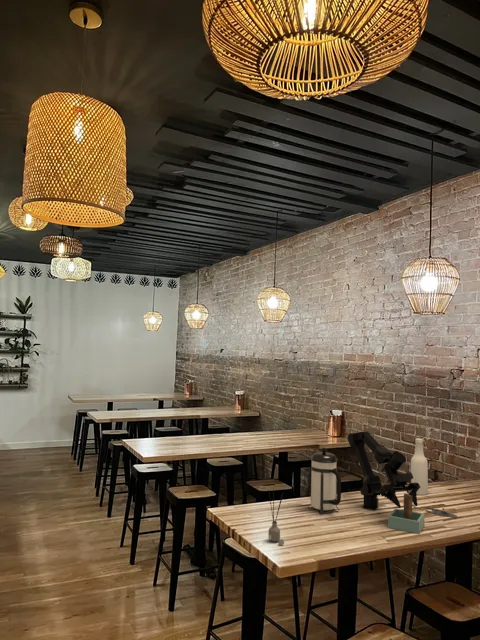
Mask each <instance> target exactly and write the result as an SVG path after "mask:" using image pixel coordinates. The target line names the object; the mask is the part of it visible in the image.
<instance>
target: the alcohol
mask: <svg viewBox="0 0 480 640" xmlns="http://www.w3.org/2000/svg"><path fill="white" fill-rule="evenodd" d="M414 442H415V447H414V454H413V456H412V457H411V459H410V472H411V473H412V475H413V479H411V481H410V483H415V482H417V483H419V485H420V489H419V490H418V491H417V493H416V496H427V494H428V493H429V491H428V490H429V488H428V486H429V484H428V482H429V479H428V476H429V475H428V474H429V473H428V472H429V470H428V466H429V465H428V459H427V458H426V457H425V453H424V444H423V443H424V439H423V438H420V437H419V438H417V437H416V438H415V441H414Z"/></svg>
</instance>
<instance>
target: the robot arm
mask: <svg viewBox="0 0 480 640" xmlns="http://www.w3.org/2000/svg"><path fill="white" fill-rule="evenodd" d="M347 442H348V444H349V446H350V447H351V448H352V449H353V450H354V451H355V454H356V457H357V460H358V463H359V465H360V469H361V472H362V475H363V480H362V483H363V484H362V487H361V488H360V491H359V492H360V495H362V496H363V505H362V508H364V509H369V510H374V511H375V510H377V509H378V508H379V501H380V500H379V498H378V496H381V497H384V498H386V499H388V500H389V501H390V502H392V503H393V504H394V505H395V506H396V507H398V509H400V508H401V507H402V505H401V503H400V501H399V499H398V497H397V494H396V492H404V491H405V492H406V494H409V495H411V496H412V504H413V506H415V507H418V506H419V505H418V504H419V503H418V499H417V496H418V495H416V493H417V491H418V490H419V489H420V485H419V483H417V482H415V483H411V479H413V475H412V473H411V471H408V472H405V473H399V470H400V469H401V468H402V467H403V466H404V464H405V463H406V462H407V458H406V456H405V455H404V454H402V453H401V452H400V451H399V450H394V451H393V452H391V450H389V449H388V448H385V447H383V446H381V444H379V443H378V441H377V440H376V439H375V438H374V437H373V436H372V435H371V432H370V431H359V432H350V433H348V435H347ZM365 445H366V446H367V447H368V448H369V450H371V452H372V453H373V458H374V459H375V461H376V462H377V464H379V465H382V464H383V465H382V467H381V473H385V475H386V477H387V483H389V484H384V485H382V481H381V479H380V476H379V475H376V474H375V473H374V472H373V469H372V468H373V467H372V465H371V463H370V460H369V458H368V454H367V452H366V449H365ZM409 482H410V483H409Z"/></svg>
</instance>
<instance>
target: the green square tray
mask: <svg viewBox="0 0 480 640" xmlns="http://www.w3.org/2000/svg"><path fill="white" fill-rule="evenodd" d="M387 521H388V522H387V523H388V524H387V525H388V526H387V527H388V529H391V530H392V529H393V530H398V531H402V532H408V533H412V534H418V535H419V534H420V533H421V532H422V530H423V528H424V527H425V513H421V512H416V511H412V520H410V519H405V518H404V509H400V508H394V509H393V510H392V511H391V512H390V513H389V515H388V517H387Z"/></svg>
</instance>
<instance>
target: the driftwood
mask: <svg viewBox="0 0 480 640" xmlns="http://www.w3.org/2000/svg"><path fill="white" fill-rule="evenodd" d="M412 508H415V509H416V510H417V509H418V510H421V511H424V512H428V513H431V514H433V515H437V516H440V517H444V518H449V519H450V518H451V519H452V518H453V519H456V518H457V517H458V515H457V514H453V513H451V512H448V511H445V510H440V509H437V508H432V507H430V506H429V507H428V506H427V507H425V509H423V508H419V507H417V506H415V505H412Z"/></svg>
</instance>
